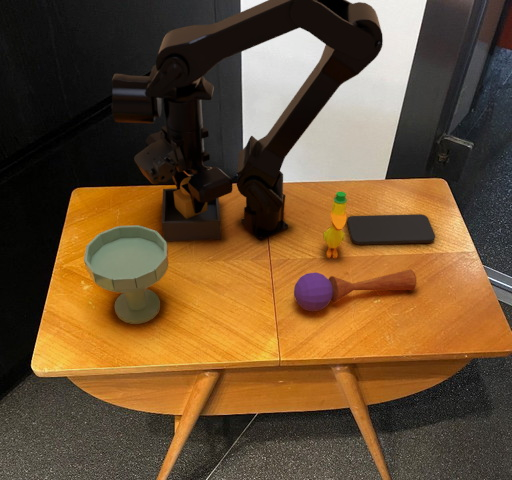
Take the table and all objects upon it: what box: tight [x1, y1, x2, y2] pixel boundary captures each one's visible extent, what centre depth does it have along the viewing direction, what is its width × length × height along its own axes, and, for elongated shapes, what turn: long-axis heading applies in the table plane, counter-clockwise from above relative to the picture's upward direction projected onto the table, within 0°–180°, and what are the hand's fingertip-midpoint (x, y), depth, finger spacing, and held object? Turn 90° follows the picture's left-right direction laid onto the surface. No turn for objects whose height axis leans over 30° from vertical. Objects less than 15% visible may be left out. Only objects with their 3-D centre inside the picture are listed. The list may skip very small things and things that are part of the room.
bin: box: [161, 187, 222, 242], centre depth 98 cm, size 10×10×4 cm
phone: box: [346, 213, 436, 245], centre depth 99 cm, size 7×1×15 cm
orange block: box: [174, 177, 208, 219], centre depth 95 cm, size 4×4×6 cm
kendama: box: [293, 269, 417, 312], centre depth 86 cm, size 6×6×20 cm
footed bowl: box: [83, 224, 170, 325], centre depth 81 cm, size 11×11×12 cm
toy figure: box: [322, 191, 348, 259], centre depth 90 cm, size 7×4×12 cm, turn 177°
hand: (191, 206), depth 97 cm, fingers closed on orange block, 4 cm apart
